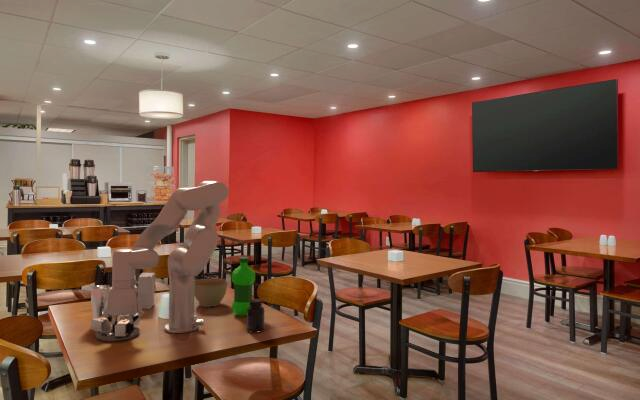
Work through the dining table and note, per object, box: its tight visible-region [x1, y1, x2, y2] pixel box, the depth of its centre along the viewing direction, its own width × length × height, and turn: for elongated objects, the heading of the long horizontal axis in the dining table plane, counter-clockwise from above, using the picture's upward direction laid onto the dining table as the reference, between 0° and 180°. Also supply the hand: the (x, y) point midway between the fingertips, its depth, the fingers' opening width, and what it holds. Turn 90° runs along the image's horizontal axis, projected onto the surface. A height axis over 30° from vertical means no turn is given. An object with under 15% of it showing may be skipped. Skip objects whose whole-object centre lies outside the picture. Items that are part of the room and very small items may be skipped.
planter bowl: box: [194, 278, 229, 308], centre depth 214 cm, size 16×16×11 cm
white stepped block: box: [119, 313, 140, 327], centre depth 175 cm, size 4×6×5 cm, turn 71°
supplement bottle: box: [246, 298, 265, 332], centre depth 179 cm, size 7×7×12 cm
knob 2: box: [115, 319, 130, 337], centre depth 165 cm, size 4×6×5 cm, turn 4°
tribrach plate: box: [94, 326, 141, 343], centre depth 170 cm, size 15×15×2 cm
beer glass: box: [90, 284, 111, 318], centre depth 181 cm, size 7×7×15 cm
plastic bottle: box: [231, 256, 256, 316], centre depth 199 cm, size 10×10×25 cm
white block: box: [90, 316, 111, 333], centre depth 168 cm, size 4×6×5 cm, turn 61°
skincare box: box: [137, 272, 156, 310], centre depth 208 cm, size 8×6×15 cm
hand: (123, 333), depth 165 cm, fingers open, 4 cm apart
